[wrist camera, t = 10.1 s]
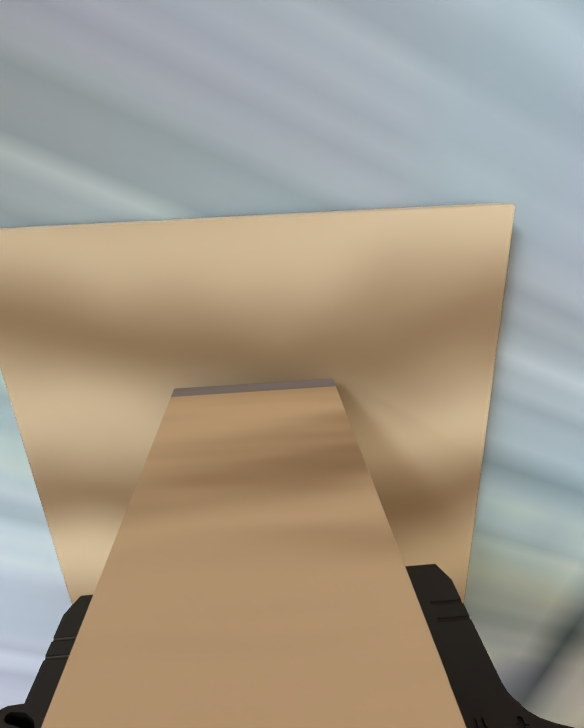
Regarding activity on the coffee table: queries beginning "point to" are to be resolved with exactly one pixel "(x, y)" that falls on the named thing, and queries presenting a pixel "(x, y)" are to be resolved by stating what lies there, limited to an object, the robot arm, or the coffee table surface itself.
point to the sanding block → (254, 581)
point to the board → (257, 352)
